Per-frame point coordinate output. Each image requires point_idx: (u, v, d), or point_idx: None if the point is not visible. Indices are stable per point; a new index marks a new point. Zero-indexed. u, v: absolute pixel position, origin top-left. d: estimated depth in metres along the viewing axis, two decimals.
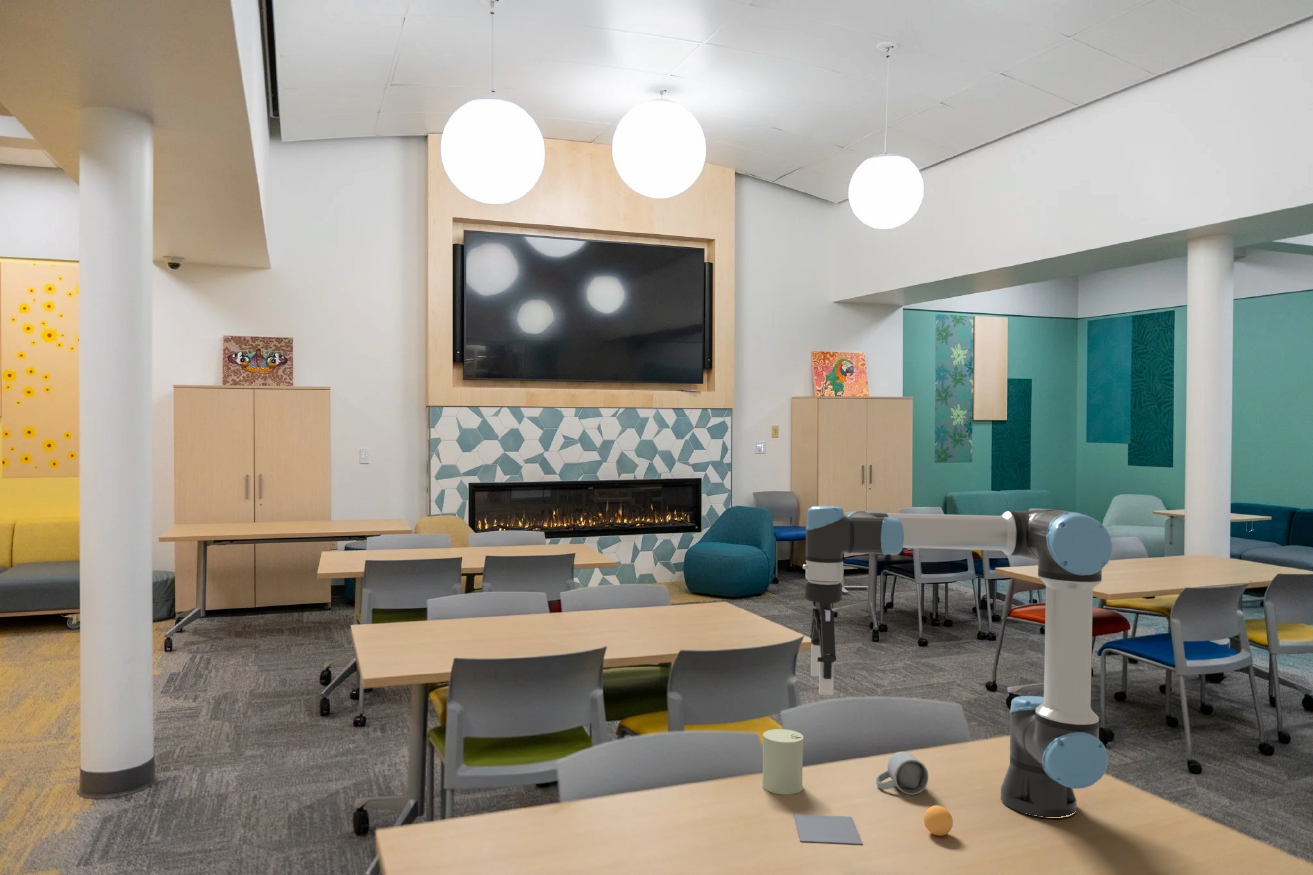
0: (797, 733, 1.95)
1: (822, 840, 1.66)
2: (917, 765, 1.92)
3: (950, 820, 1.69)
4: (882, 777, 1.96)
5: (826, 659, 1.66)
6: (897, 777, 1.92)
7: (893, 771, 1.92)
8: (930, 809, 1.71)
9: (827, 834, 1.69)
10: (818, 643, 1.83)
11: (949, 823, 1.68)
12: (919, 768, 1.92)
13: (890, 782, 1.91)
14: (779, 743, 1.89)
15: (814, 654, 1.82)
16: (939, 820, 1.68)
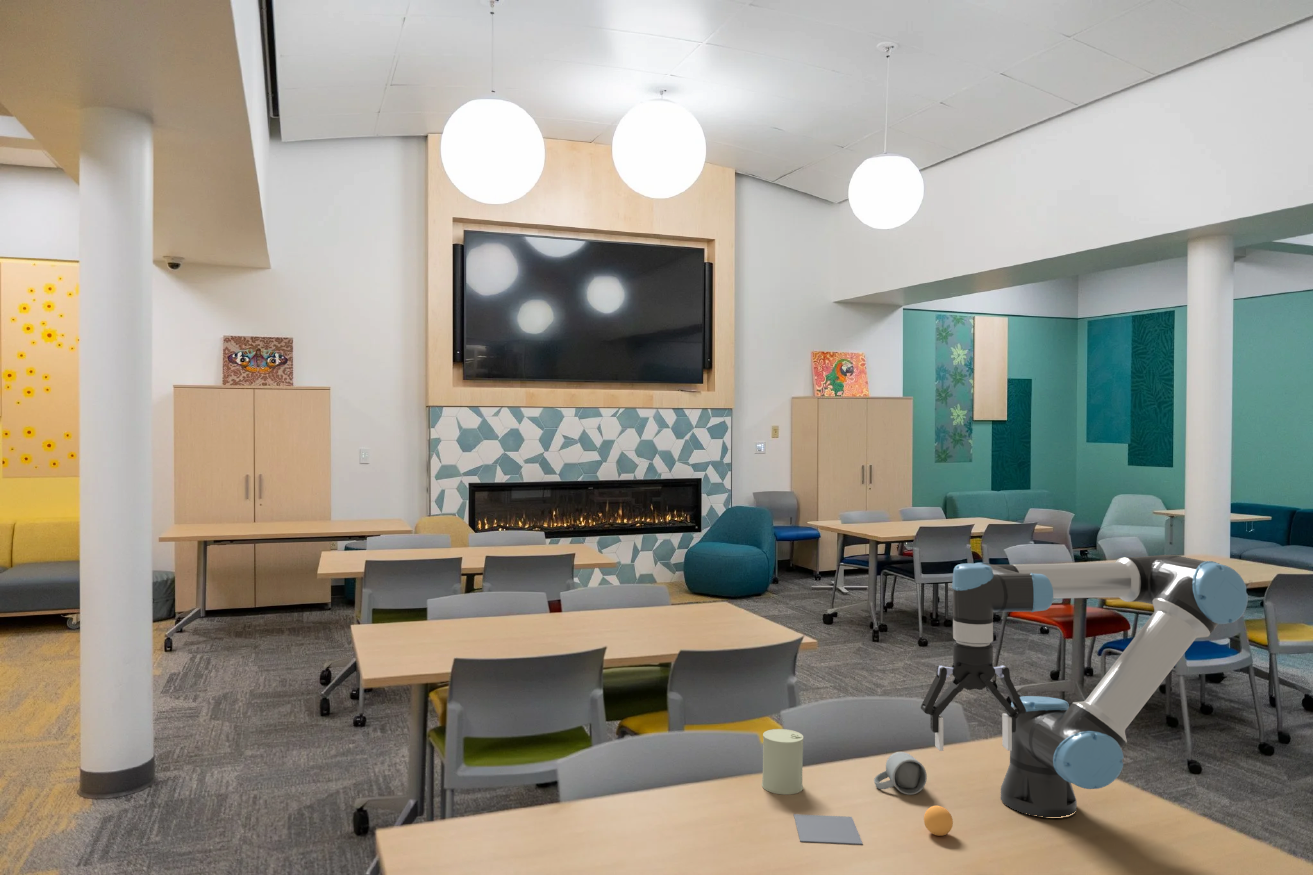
0: (797, 733, 1.95)
1: (822, 840, 1.66)
2: (915, 765, 1.92)
3: (950, 820, 1.69)
4: (880, 777, 1.96)
5: None
6: (895, 777, 1.92)
7: (891, 771, 1.92)
8: (930, 809, 1.71)
9: (827, 834, 1.69)
10: (1008, 714, 1.71)
11: (949, 823, 1.68)
12: (917, 768, 1.92)
13: (888, 782, 1.91)
14: (779, 743, 1.89)
15: (1003, 723, 1.72)
16: (939, 820, 1.68)
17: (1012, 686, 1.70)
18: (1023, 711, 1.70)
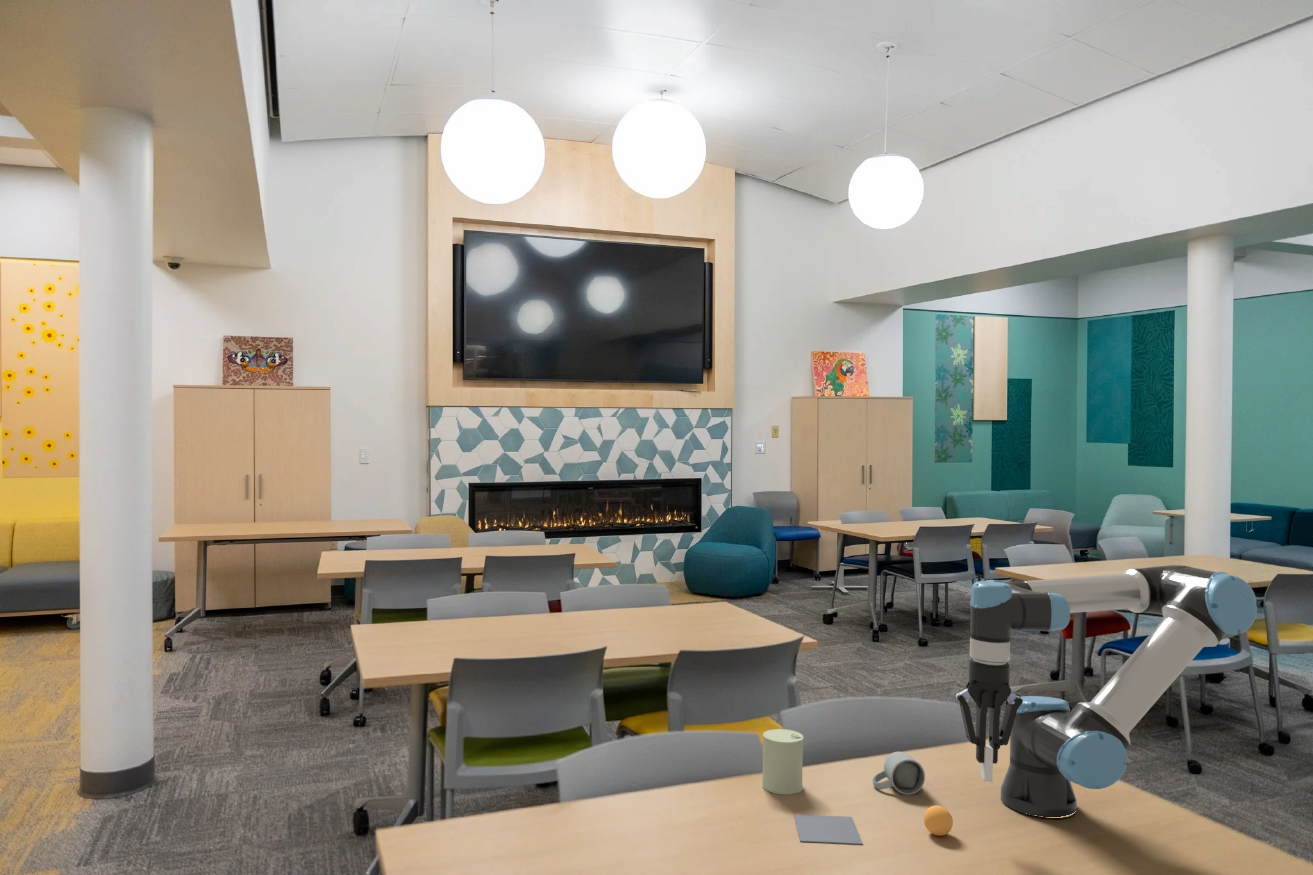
0: (797, 733, 1.95)
1: (822, 840, 1.66)
2: (914, 765, 1.92)
3: (950, 820, 1.69)
4: (879, 777, 1.96)
5: (967, 738, 1.71)
6: (894, 777, 1.92)
7: (890, 771, 1.92)
8: (930, 809, 1.71)
9: (827, 834, 1.69)
10: (990, 742, 1.70)
11: (949, 823, 1.68)
12: (916, 768, 1.92)
13: (887, 782, 1.91)
14: (779, 743, 1.89)
15: None
16: (939, 820, 1.68)
17: (1013, 717, 1.69)
18: (1005, 743, 1.69)
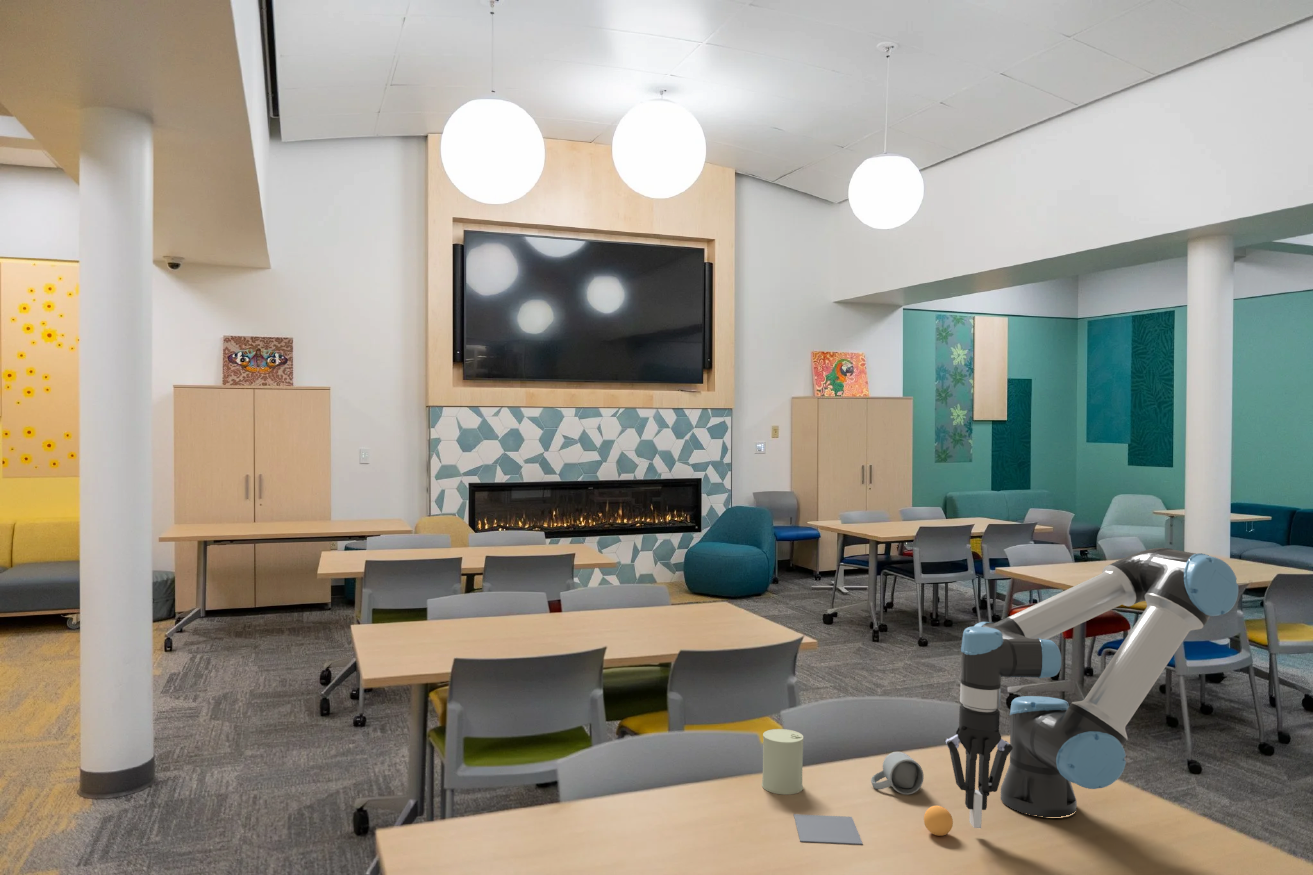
0: (797, 733, 1.95)
1: (822, 840, 1.66)
2: (912, 765, 1.92)
3: (950, 820, 1.69)
4: (877, 777, 1.96)
5: (957, 784, 1.71)
6: (892, 777, 1.92)
7: (888, 771, 1.92)
8: (930, 809, 1.71)
9: (827, 834, 1.69)
10: (979, 788, 1.70)
11: (949, 823, 1.68)
12: (914, 768, 1.92)
13: (885, 782, 1.91)
14: (779, 743, 1.89)
15: None
16: (939, 820, 1.68)
17: (1003, 763, 1.69)
18: (994, 789, 1.69)
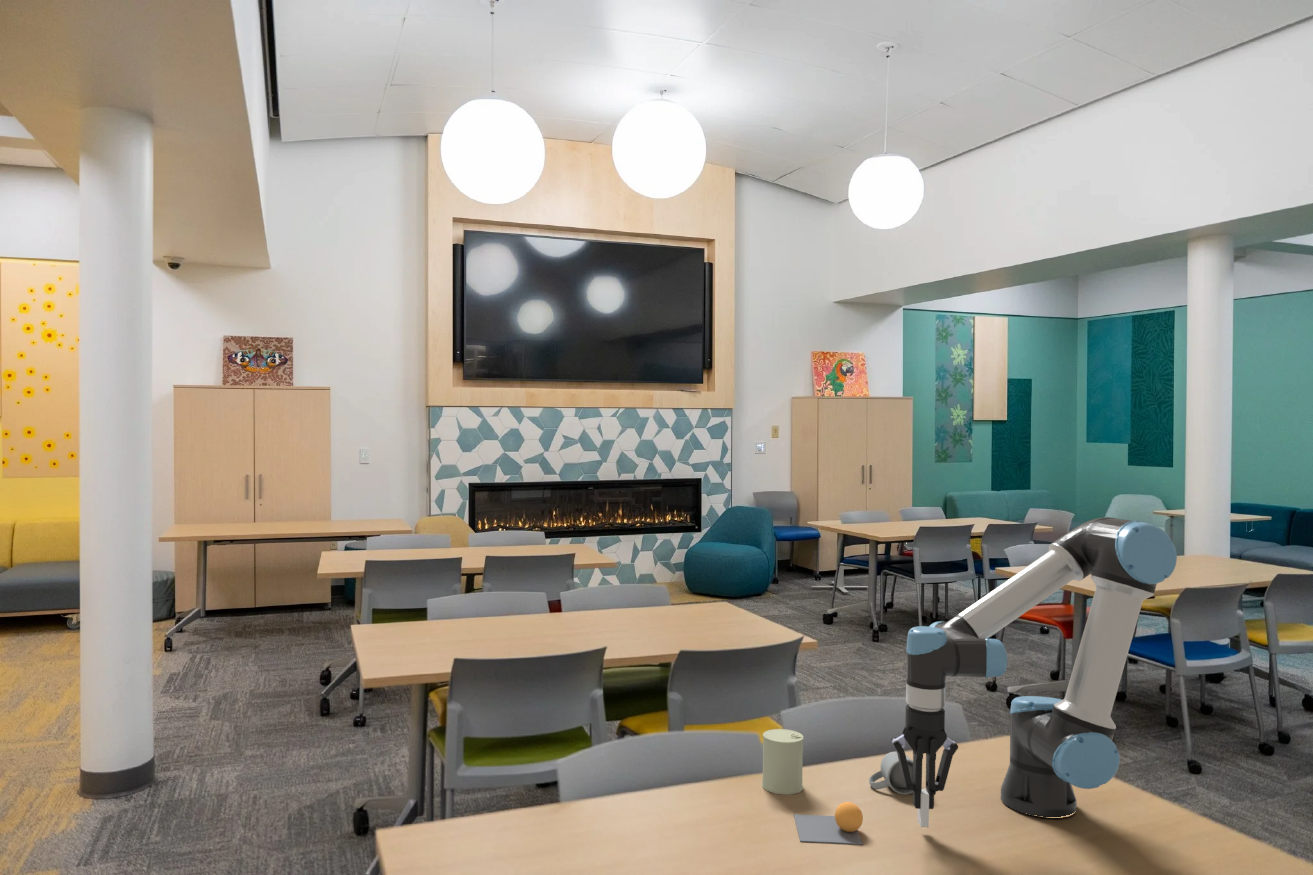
0: (797, 733, 1.95)
1: (822, 840, 1.66)
2: (910, 765, 1.92)
3: (859, 816, 1.70)
4: (875, 777, 1.96)
5: None
6: (890, 777, 1.93)
7: (886, 771, 1.92)
8: (840, 806, 1.71)
9: (827, 834, 1.69)
10: (926, 788, 1.71)
11: (858, 820, 1.69)
12: (912, 768, 1.92)
13: (883, 782, 1.91)
14: (779, 743, 1.89)
15: None
16: (848, 816, 1.69)
17: (949, 762, 1.70)
18: (940, 788, 1.69)
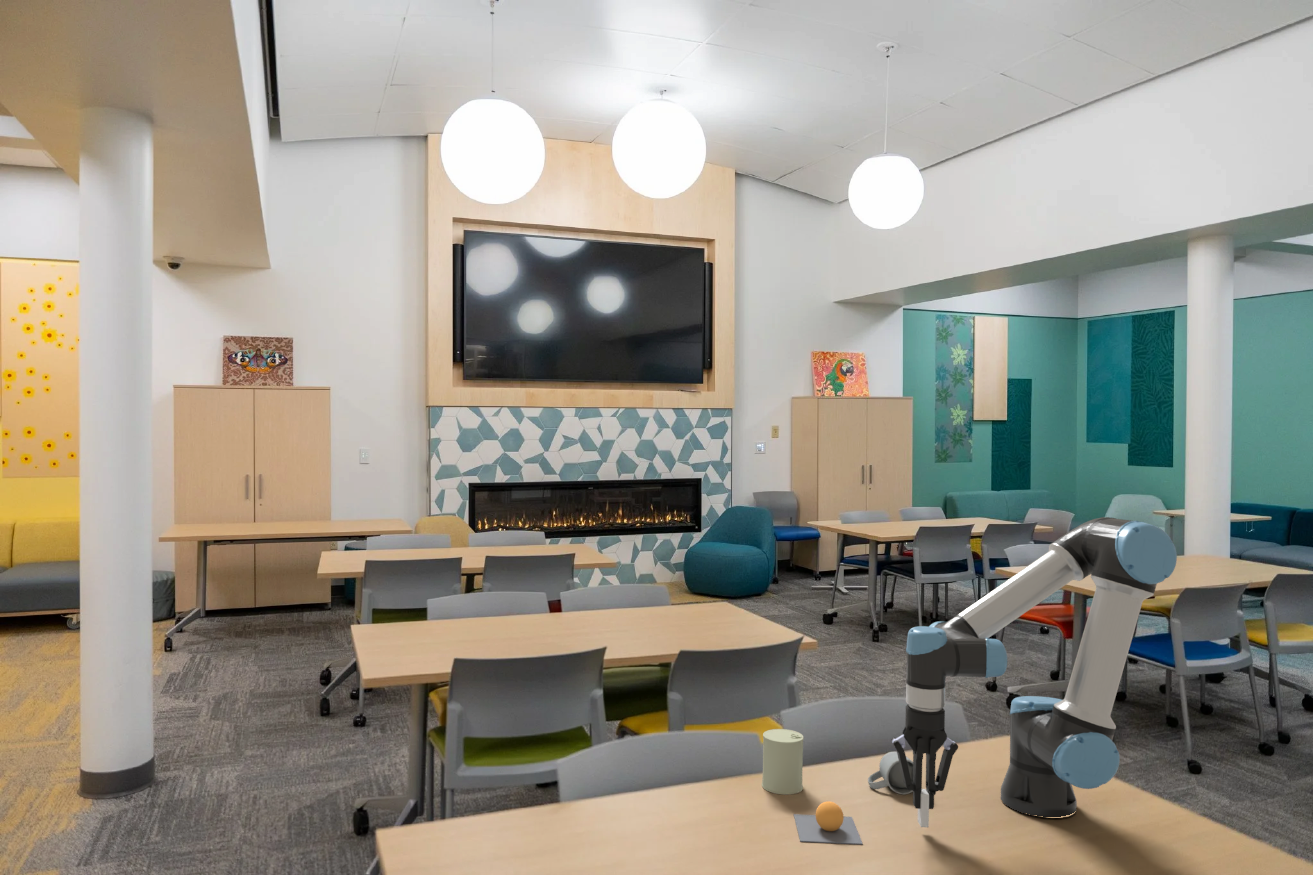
0: (797, 733, 1.95)
1: (822, 840, 1.66)
2: (909, 765, 1.92)
3: (828, 810, 1.70)
4: (874, 777, 1.96)
5: None
6: (889, 777, 1.93)
7: (885, 771, 1.92)
8: (817, 821, 1.72)
9: (827, 834, 1.69)
10: (926, 788, 1.71)
11: (830, 813, 1.69)
12: (911, 768, 1.92)
13: (882, 782, 1.91)
14: (779, 743, 1.89)
15: None
16: (825, 822, 1.69)
17: (949, 762, 1.70)
18: (940, 788, 1.69)
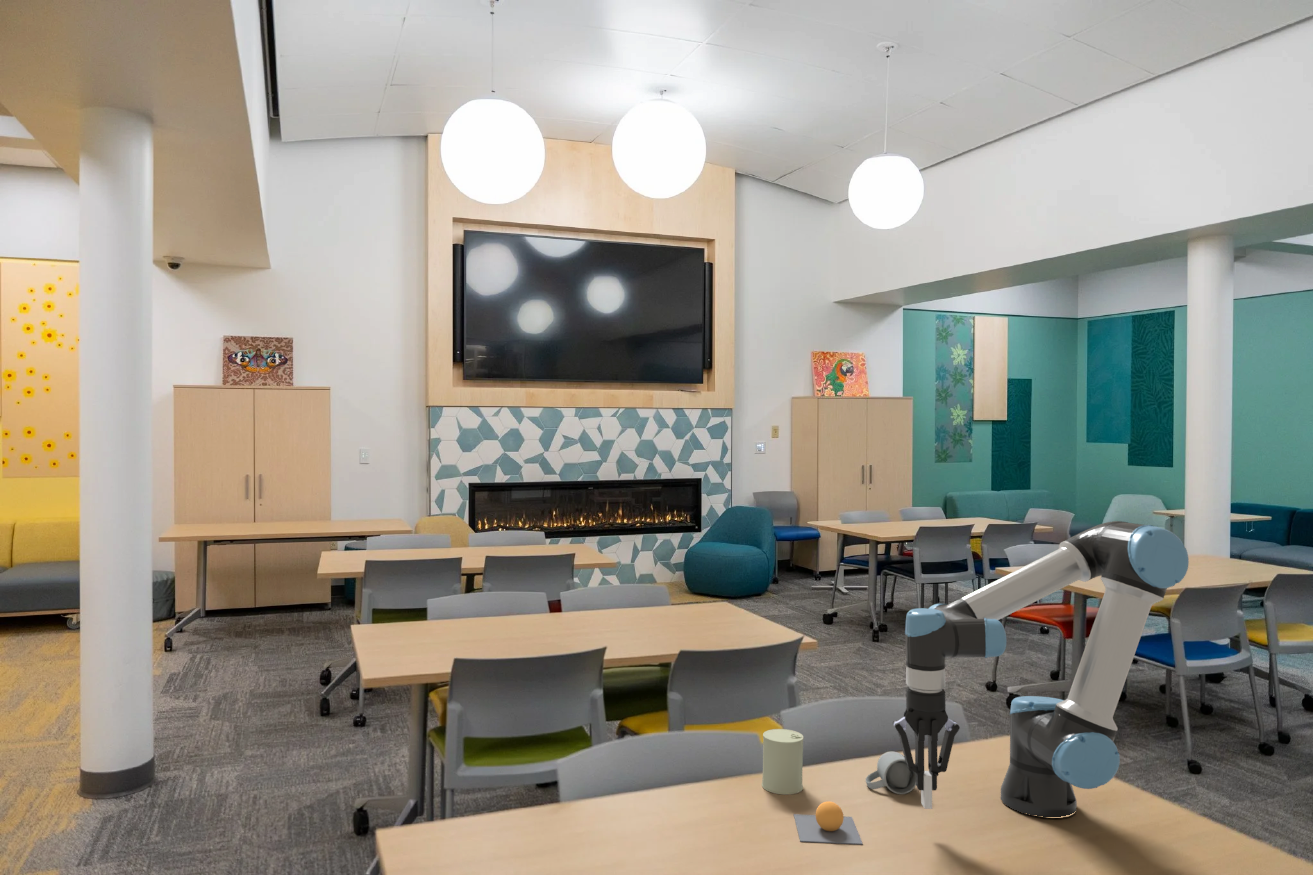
0: (797, 733, 1.95)
1: (822, 840, 1.66)
2: None
3: (828, 810, 1.70)
4: (872, 777, 1.96)
5: (907, 766, 1.72)
6: (887, 777, 1.93)
7: (883, 771, 1.92)
8: (817, 821, 1.72)
9: (827, 834, 1.69)
10: (929, 769, 1.71)
11: (830, 813, 1.69)
12: None
13: (880, 782, 1.91)
14: (779, 743, 1.89)
15: None
16: (825, 822, 1.69)
17: (951, 743, 1.70)
18: (943, 769, 1.70)
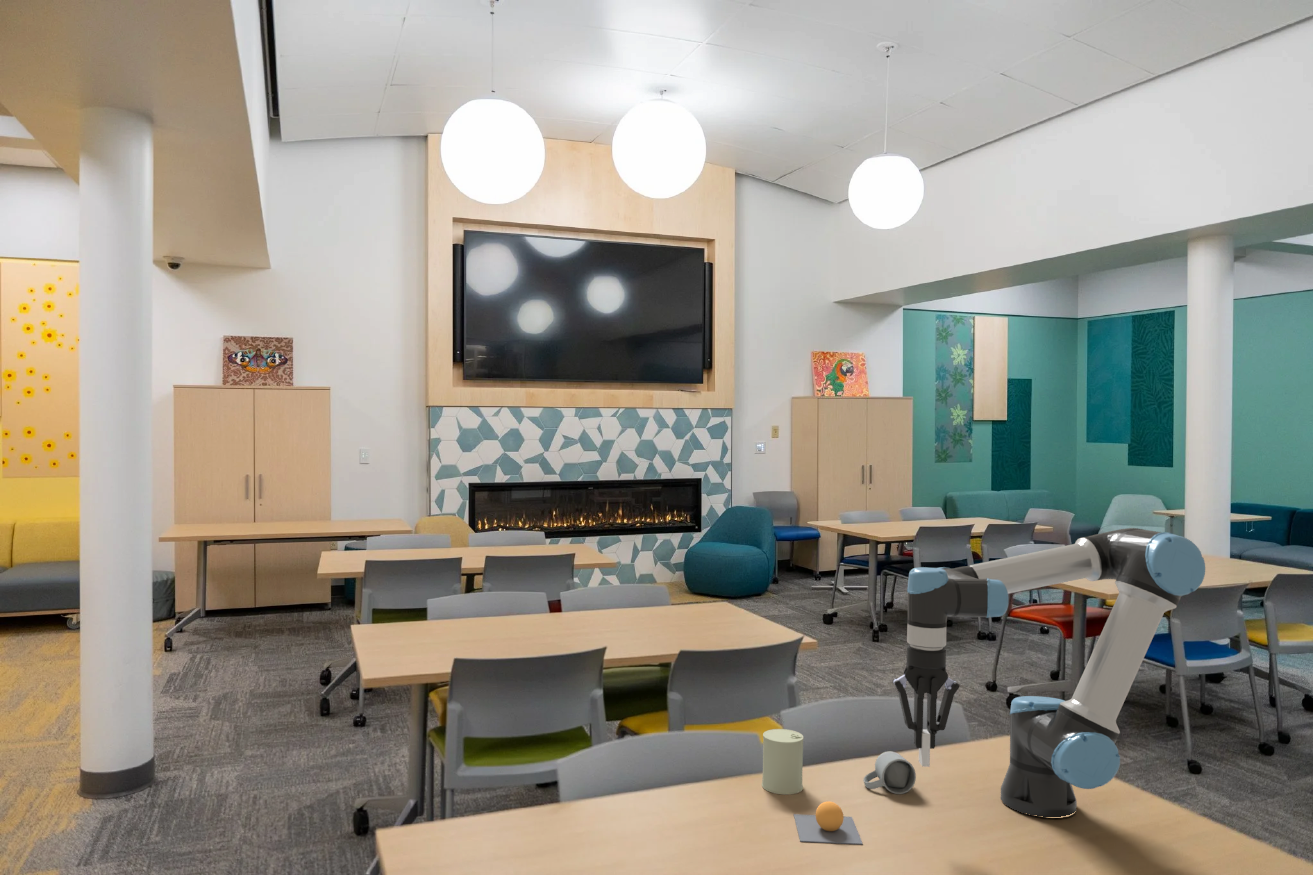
0: (797, 733, 1.95)
1: (822, 840, 1.66)
2: (904, 764, 1.92)
3: (828, 810, 1.70)
4: (870, 777, 1.96)
5: None
6: (885, 777, 1.93)
7: (881, 771, 1.92)
8: (817, 821, 1.72)
9: (827, 834, 1.69)
10: (928, 727, 1.71)
11: (830, 813, 1.69)
12: (906, 767, 1.92)
13: (878, 782, 1.91)
14: (779, 743, 1.89)
15: None
16: (825, 822, 1.69)
17: (950, 702, 1.70)
18: (942, 728, 1.70)
